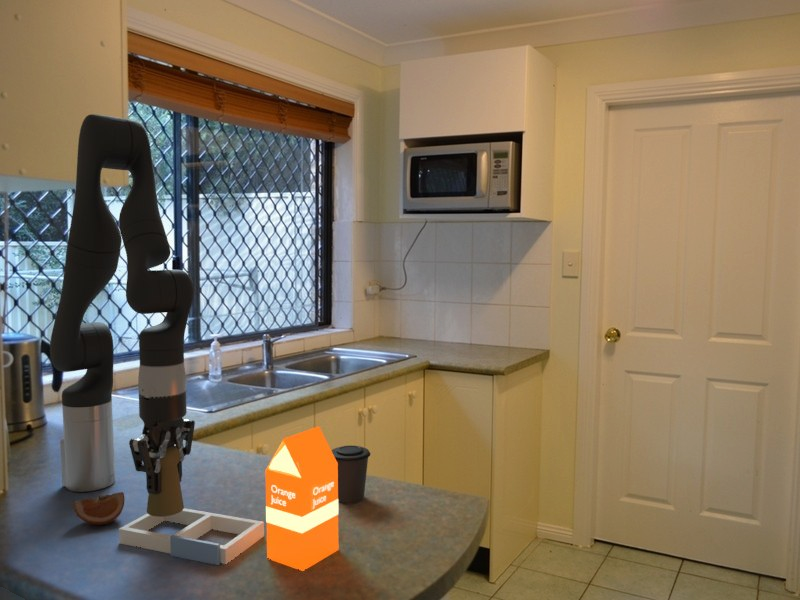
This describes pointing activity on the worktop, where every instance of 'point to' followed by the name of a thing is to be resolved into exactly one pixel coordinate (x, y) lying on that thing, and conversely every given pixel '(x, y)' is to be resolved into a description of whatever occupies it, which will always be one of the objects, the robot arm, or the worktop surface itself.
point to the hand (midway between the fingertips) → (164, 487)
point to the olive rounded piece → (167, 486)
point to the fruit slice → (100, 508)
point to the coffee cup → (351, 472)
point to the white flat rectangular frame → (194, 535)
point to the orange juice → (302, 501)
